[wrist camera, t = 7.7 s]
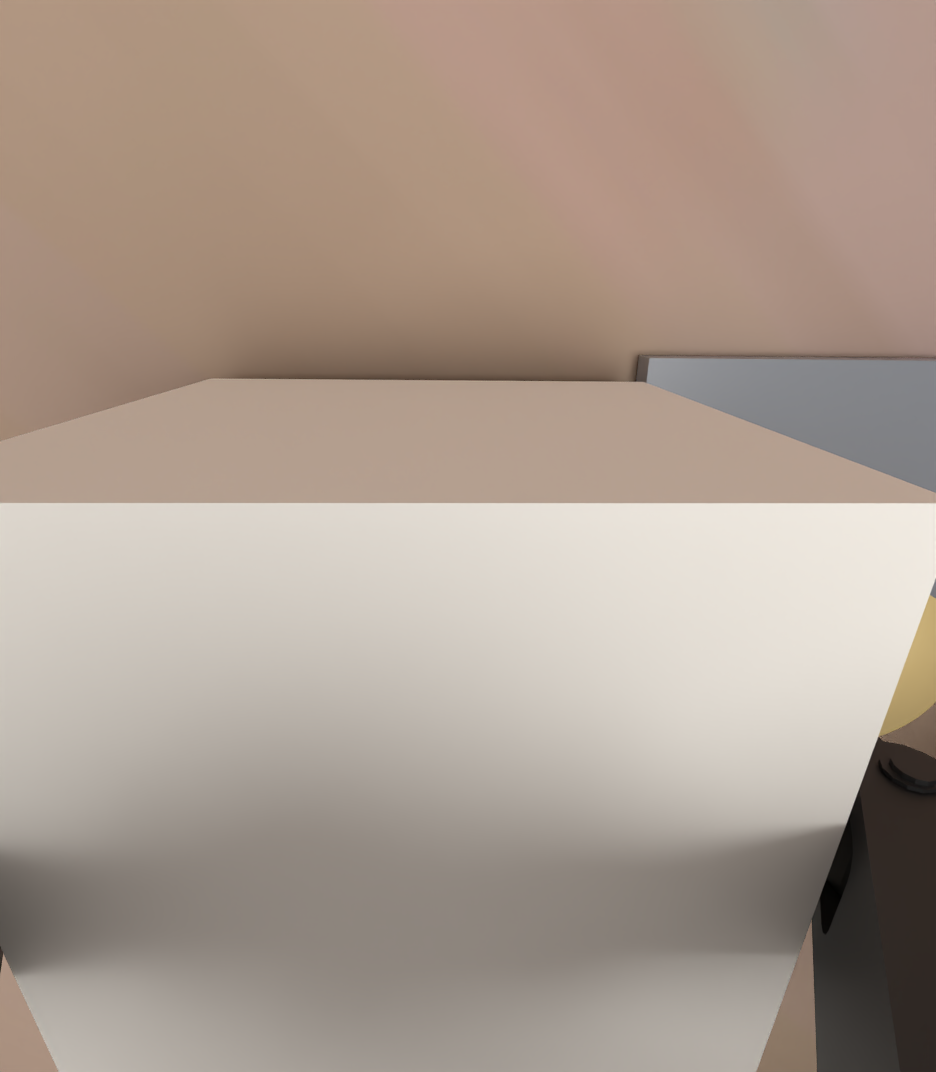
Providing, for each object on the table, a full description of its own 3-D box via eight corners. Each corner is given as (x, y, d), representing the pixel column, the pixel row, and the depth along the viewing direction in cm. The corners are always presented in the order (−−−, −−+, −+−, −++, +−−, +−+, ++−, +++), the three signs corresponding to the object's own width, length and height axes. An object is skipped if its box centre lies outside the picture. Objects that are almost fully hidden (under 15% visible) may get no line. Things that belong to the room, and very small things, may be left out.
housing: (600, 723, 17) (741, 1109, 9) (265, 727, 17) (87, 1134, 8) (643, 381, 13) (962, 503, 5) (210, 378, 13) (-209, 503, 5)
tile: (892, 701, 19) (1069, 859, 13) (596, 704, 18) (657, 868, 13) (1017, 359, 15) (1347, 389, 9) (638, 355, 14) (753, 384, 9)
